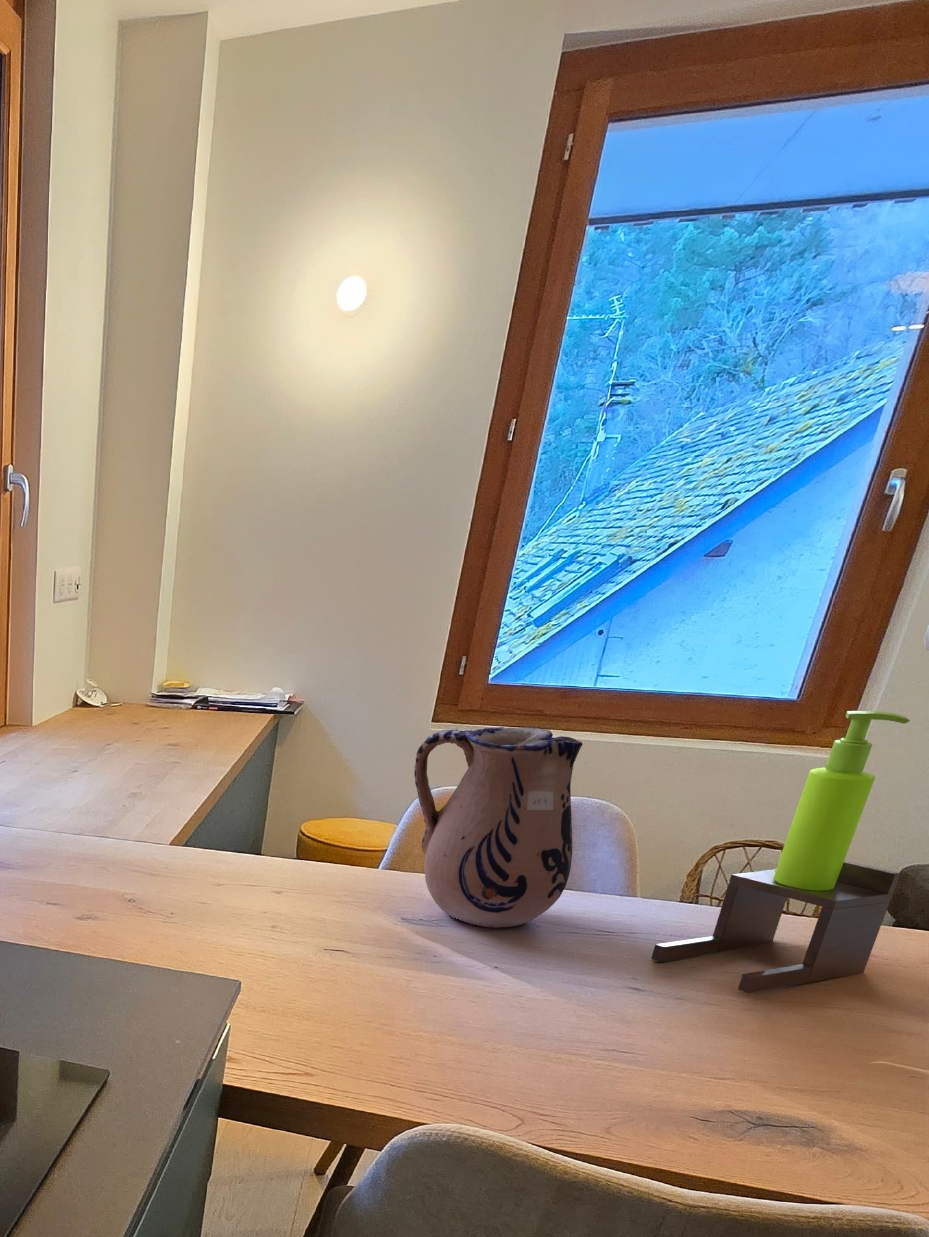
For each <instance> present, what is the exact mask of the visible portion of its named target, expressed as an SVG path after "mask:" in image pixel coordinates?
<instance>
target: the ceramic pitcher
mask: <svg viewBox="0 0 929 1237" xmlns="http://www.w3.org/2000/svg"><path fill="white" fill-rule="evenodd" d="M553 735H554V734H553V732H552V730H550V729H543V728H538V727H504V726H502V727H500V726H499V727H484V728H479V729H474V730H472V729H465V730H461V729H457V728H456V729H442V730H439V731H436V732H434V733H432V734H430V735H429V736H428V737H427V738H426V739H425V740H424V741H423V742H422V743H421V744H420V746H419V747H418V749H417V751H416V753H415V755H416V757H415V763H414V783H415V786H416V787H415V788H416V792H417V797H418V799H417V800H418V802H419V805H420V808H421V811H422V814H423V818H424V820H423V821H424V823H425V830H424V834H423V837H422V839H421V849H422V852H423V854H424V865H423V866H424V868H423V871H424V878H425V884H426V887H427V890H428V892H429V894H430V896H431V898H432V899H433V901H434V902H435V904H436V905H437V906H438V907H439V908H440V909H441V910H442V911H443V912H444V913H445V914H447V915H448V916H449V915H450V916H451V918H452V919H455V918H456V919H455V920H457V919H459V920H458V921H460V920H461V921H460V922H462V921H464V922H463V923H465V922H467V923H466V924H468V923H469V924H468V925H472V924H473V925H472V926H475V925H477V926H476V927H484V928H490V929H491V928H494V929H498V928H513V927H518V926H520V925H524V924H526V923H528V922H531V921H532V920H534V919H536V918H538V917H539V916H541V915H542V914H544V913H545V912H547V911H548V910H550V909H551V907H552V906H554V904H555V903H556V902H557V901H558V900H559V899H560V897H561V896H562V894H563V893H564V890H565V888H566V886H567V884H568V881H569V877H570V873H571V868H572V858H573V848H574V847H573V820H572V819H573V817H572V816H573V815H572V797H571V796H572V795H571V793H572V792H571V791H572V790H571V785H572V776H573V770H574V764H575V762H576V760H577V758H578V756H579V753H580V750H581V748H582V746H583V742H582V740H581V741H580V740H577V739H576V738H573V737H570V736H563V735H560V736H557V737H553ZM449 743H450V744H454V745H456V746H457V747H458V748H459V749H462V751H463V754H464V756H465V761H466V763H467V769H466V771H465V773H464V774H463V776H462V778H461V779H460V782H459V783H458V785H457V786H456V788H455V790H454V791H453V792H452V794H451V796H450V797H449V799H448V800H447V802H446V804H444V805H443V806H442V807H441V809H439V810H437V808H436V805H435V800H434V796H433V794H432V789H431V786H430V785H429V784H430V783H429V782H430V781H429V777H428V759H429V755H430V754H431V752H432V751H433V750H434V749H436V747H437V746H441V745H443V744H449ZM450 916H449V917H450Z"/></svg>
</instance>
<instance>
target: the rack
mask: <svg viewBox="0 0 929 1237" xmlns="http://www.w3.org/2000/svg"><path fill="white" fill-rule="evenodd" d="M775 871H776V868H774V869H766V870H755V871H749V872H741V873H733V874H730V878H729V881H728V885H727V887H726V890H725V895H724V898H723V901H722V905H721V907H720V910H719V914H718V917H717V920H716V924H715V927H714V929H713V934H712V935H710V936H702V937H697V938H689V939H683V940H676V941H670V942H669V941H668V942H663V943H662V942H661V943H656V944H654V948H653V951H652V954H651V958H650V960H652V961H655V962H657V963H663V962H664V963H665V962H671V961H678V960H683V959H689V958H696V957H703V956H708V955H713V954H717V953H722V952H726V951H732V950H737V949H742V948H747V947H752V946H756V945H761V944H767V943H771V942H774V938H775V935H776V932H777V929H778V927H779V923H780V920H781V917H782V914H783V911H784V908H785V905H786V902H787V899H792V900H796V901H799V902H803V903H806V904H811V905H814V906H815V905H816V906H817V907H821V909H820V912H819V915H818V917H817V920H816V922H815V923H816V924H815V926H814V929H813V933H812V934H811V937H810V940H809V944H808V947H807V949H806V952H805V955H804V959H803V961H802V963H801V964H800V963H799V964H795V965H788V966H782V967H777V968H770V969H763V970H758V971H757V970H756V971H752V972H746V973H742V975H741V978H740V981H739V985H738V988H737V990H738V991H740V992H743V993H746V994H752V993H757V992H763V991H768V990H774V989H781V988H785V987H792V986H798V985H803V984H809V983H814V982H821V981H825V980H833V979H837V978H843V977H844V978H845V977H849V976H854V975H858V974H859V975H860V974H863V973H864V972H865V970H866V968H867V966H868V962H869V959H870V957H871V954H872V952H873V948H874V946H875V943H876V940H877V937H878V935H879V932H880V931H881V930H880V929H881V927H882V924H883V922H884V918H885V916H886V913H887V911H888V908H889V905H890V902H891V900H892V898H893V895H894V892H895V889H896V886H897V884H898V881H899V878H900V876H901V872H896V871H893V870H887V869H883V868H879V867H874V866H869V865H866V864H861V863H856V862H852V861H847V860H844V863H843V865H842V868H841V871H840V873H839V876H838V879H837V881H836V884H835V887H834V888H833V889H831V890H806V889H799V888H794V887H790V886H786V885H783V884H781V883H778V882H776V881H775V880H774V879H773V877H774V874H775Z"/></svg>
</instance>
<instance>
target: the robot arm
mask: <svg viewBox="0 0 929 1237" xmlns="http://www.w3.org/2000/svg"><path fill="white" fill-rule="evenodd" d="M923 644H924V645H923V646H924V648H925V650H927V651H929V624H928V625H927V628H926V631H925V632H924V637H923Z"/></svg>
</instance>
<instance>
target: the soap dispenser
mask: <svg viewBox="0 0 929 1237" xmlns="http://www.w3.org/2000/svg"><path fill="white" fill-rule="evenodd" d="M845 718H846V719H847V720H851V721H850V723H849V726H848V729H847V731H846V735H845V737H841V738H840V739H836V740H834V742H833V744H832V747H831V750H830V752H829V755H828V758H827V761H826V763H825V767H816V768H812V769H810V770H809V772H808V775H807V778H806V781H805V784H804V787H803V790H802V792H801V796H800V798H799V801H798V804H797V807H796V810H795V813H794V816H793V818H792V821H791V824H790V828H789V831H788V834H787V836H786V839H785V841H784V845H783V847H782V850H781V854H780V856H779V859H778V863H777V865H776V868H775V869H776V871H775V874H774V877H773V879H774V880H775V881H776V882H778V883H781V884H783V885H786V886H790V887H794V888H799V889H806V890H831V889H833V888H834V887H835V884H836V881H837V879H838V876H839V873H840V871H841V868H842V865H843V863H844V861H846V857H847V854H848V852H849V849H850V847H851V844H852V841H853V838H854V836H855V833H856V830H857V827H858V825H859V823H860V820H861V816H862V814H863V812H864V809H865V806H866V804H867V801H868V799H869V796H870V793H871V790H872V788H873V784H874V782H875V779H876V777H875V775H874V774H871V773H868V772H866V771H864V769H865V767H866V763H867V761H868V758H869V755H870V753H871V750H872V747H873V744H872V743H871V742H869V740H868V739H866V736H867V734H868V731H869V728H870V725H871V722H872V720H875V721H878V720H879V721H889V722H890V721H891V722H895V723H899V724H903V725H904V724H907V723H909V722H911V720H910V718H908V717H907V716H904V715H900V714H897V713H892V712H886V711H880V710H847V711H846V714H845Z"/></svg>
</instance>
